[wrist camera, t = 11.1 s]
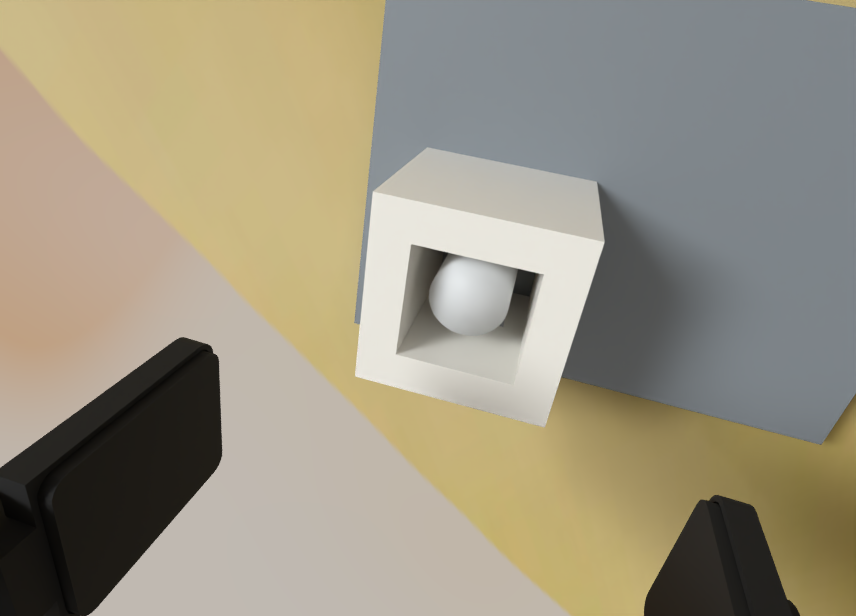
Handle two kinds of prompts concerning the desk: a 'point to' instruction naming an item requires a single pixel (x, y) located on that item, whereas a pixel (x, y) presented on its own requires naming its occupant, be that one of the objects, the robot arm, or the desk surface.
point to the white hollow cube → (489, 241)
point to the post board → (657, 184)
